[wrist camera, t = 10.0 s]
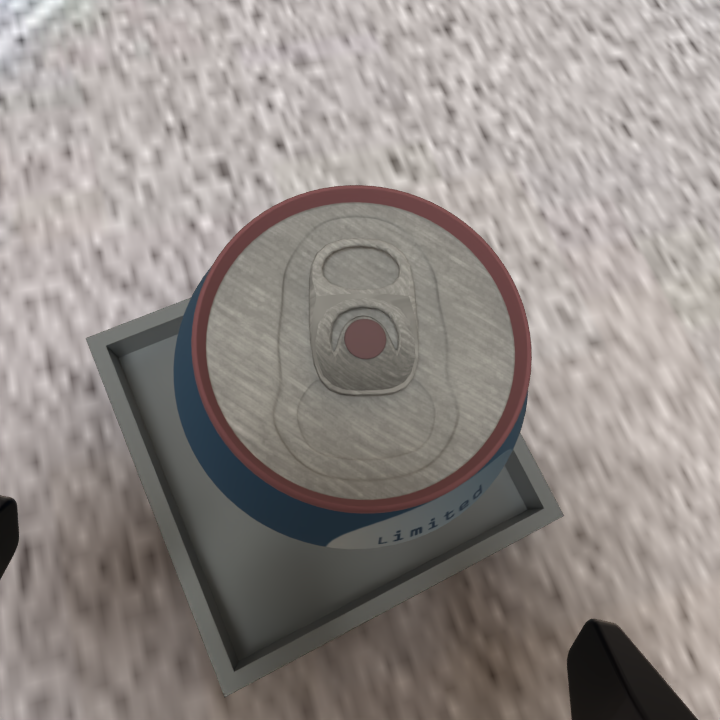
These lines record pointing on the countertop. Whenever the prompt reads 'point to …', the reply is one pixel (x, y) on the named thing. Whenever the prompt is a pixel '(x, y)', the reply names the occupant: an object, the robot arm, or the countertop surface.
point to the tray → (272, 549)
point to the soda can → (354, 367)
